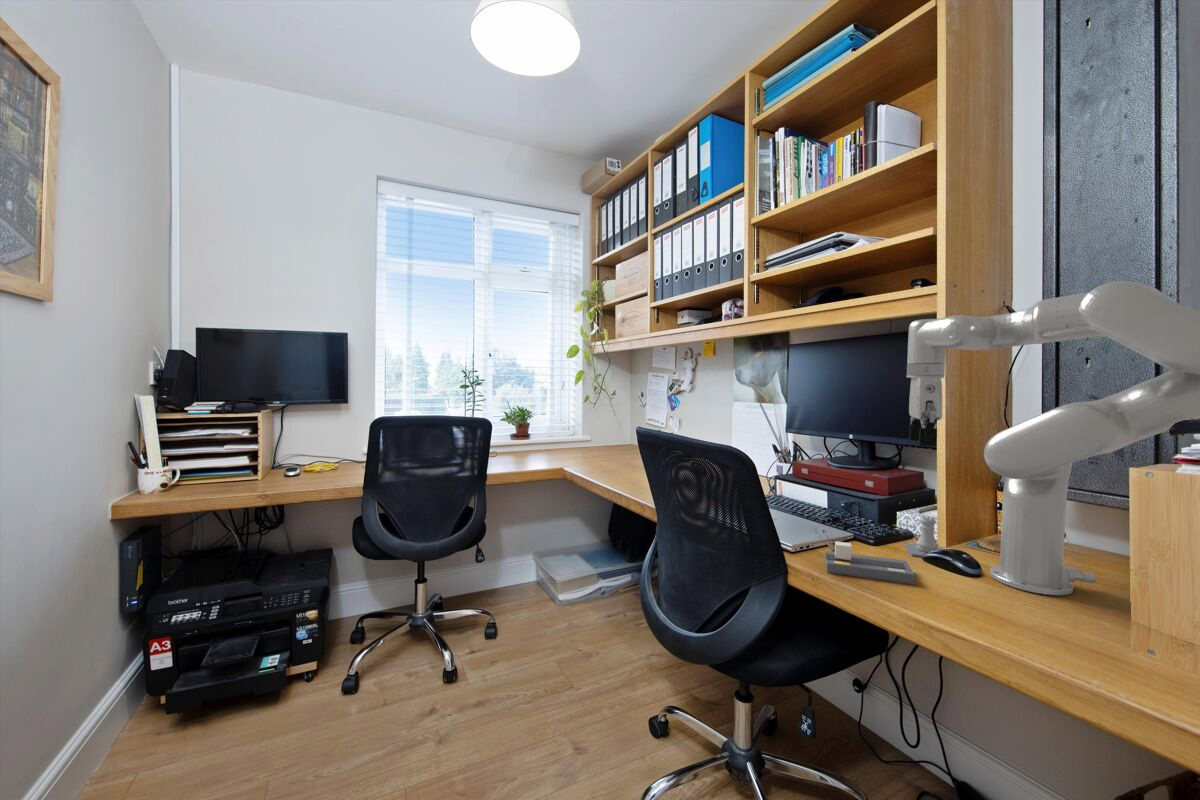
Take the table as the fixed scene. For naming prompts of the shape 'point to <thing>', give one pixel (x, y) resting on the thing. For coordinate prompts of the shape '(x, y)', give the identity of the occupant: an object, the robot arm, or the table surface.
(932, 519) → the rook chess piece
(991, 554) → the table surface
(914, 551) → the rest mat
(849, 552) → the switch tab
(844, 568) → the grey rectangular tray
